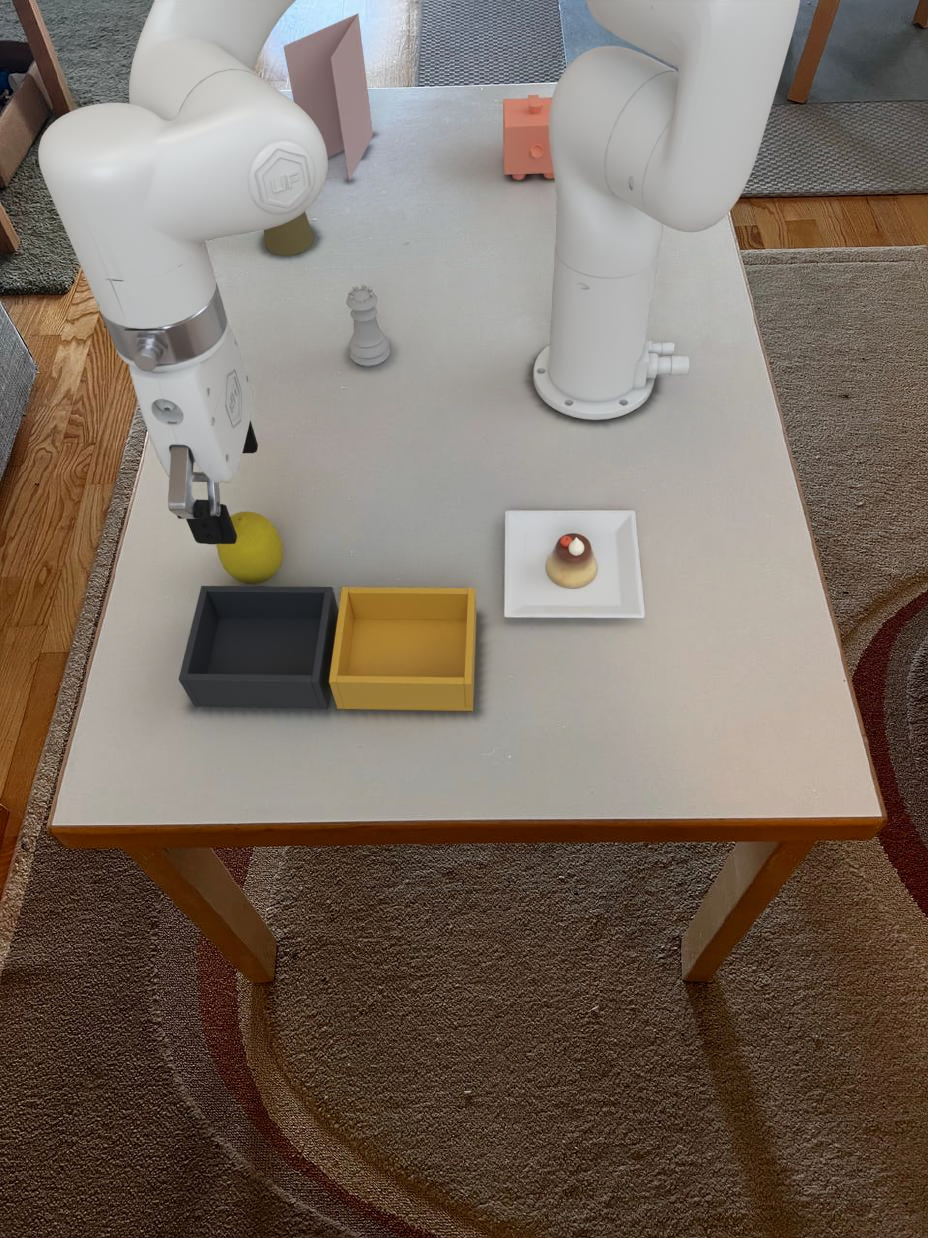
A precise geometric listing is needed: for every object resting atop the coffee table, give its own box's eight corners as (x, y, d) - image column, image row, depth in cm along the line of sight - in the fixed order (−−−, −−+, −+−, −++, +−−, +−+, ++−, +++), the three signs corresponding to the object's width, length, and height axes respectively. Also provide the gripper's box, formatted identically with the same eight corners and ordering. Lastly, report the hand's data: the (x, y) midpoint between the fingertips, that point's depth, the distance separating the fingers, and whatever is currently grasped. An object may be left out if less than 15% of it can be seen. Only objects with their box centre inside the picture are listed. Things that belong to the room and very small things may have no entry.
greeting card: (368, 132, 125) (353, 10, 112) (403, 152, 122) (392, 29, 109) (302, 165, 121) (279, 43, 108) (336, 187, 117) (316, 64, 105)
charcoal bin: (340, 616, 80) (332, 586, 76) (327, 709, 75) (318, 681, 71) (215, 615, 81) (201, 585, 77) (194, 706, 75) (178, 679, 72)
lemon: (265, 610, 81) (243, 554, 74) (217, 584, 82) (192, 528, 76) (303, 567, 83) (285, 510, 77) (256, 543, 85) (235, 485, 78)
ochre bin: (476, 617, 79) (475, 587, 76) (473, 711, 74) (471, 683, 71) (349, 616, 80) (341, 586, 76) (337, 709, 75) (328, 681, 71)
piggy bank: (505, 196, 115) (505, 131, 108) (502, 145, 122) (502, 80, 115) (567, 194, 115) (570, 128, 108) (561, 143, 121) (564, 78, 115)
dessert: (505, 517, 86) (505, 483, 82) (633, 517, 85) (639, 483, 81) (504, 624, 79) (504, 592, 75) (643, 625, 78) (650, 592, 74)
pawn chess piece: (305, 257, 109) (287, 169, 100) (258, 253, 110) (236, 165, 101) (320, 228, 113) (303, 140, 103) (273, 224, 113) (253, 136, 104)
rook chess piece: (343, 363, 99) (331, 300, 92) (360, 337, 101) (350, 274, 94) (380, 372, 97) (371, 310, 91) (397, 346, 100) (389, 283, 93)
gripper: (195, 408, 54) (257, 580, 68) (245, 237, 64) (290, 419, 78) (72, 408, 55) (158, 579, 69) (140, 238, 64) (204, 418, 78)
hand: (228, 494), depth 73 cm, fingers open, 9 cm apart
